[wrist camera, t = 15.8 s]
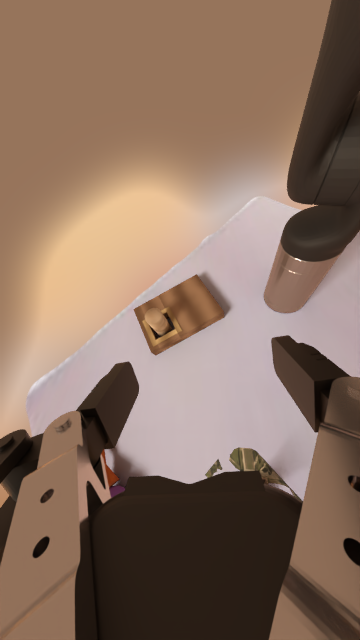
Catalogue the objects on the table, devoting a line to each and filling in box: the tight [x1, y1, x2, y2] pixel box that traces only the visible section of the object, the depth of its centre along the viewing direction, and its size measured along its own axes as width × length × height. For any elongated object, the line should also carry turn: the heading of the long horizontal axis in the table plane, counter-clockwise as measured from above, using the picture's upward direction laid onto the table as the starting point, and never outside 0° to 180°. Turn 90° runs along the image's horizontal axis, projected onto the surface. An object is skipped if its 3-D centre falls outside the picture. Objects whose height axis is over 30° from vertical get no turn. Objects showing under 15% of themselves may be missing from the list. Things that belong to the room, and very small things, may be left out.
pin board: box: [134, 275, 224, 355], centre depth 48 cm, size 20×14×3 cm
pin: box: [145, 308, 172, 337], centre depth 45 cm, size 4×4×9 cm
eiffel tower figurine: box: [205, 448, 303, 502], centre depth 26 cm, size 15×10×13 cm
